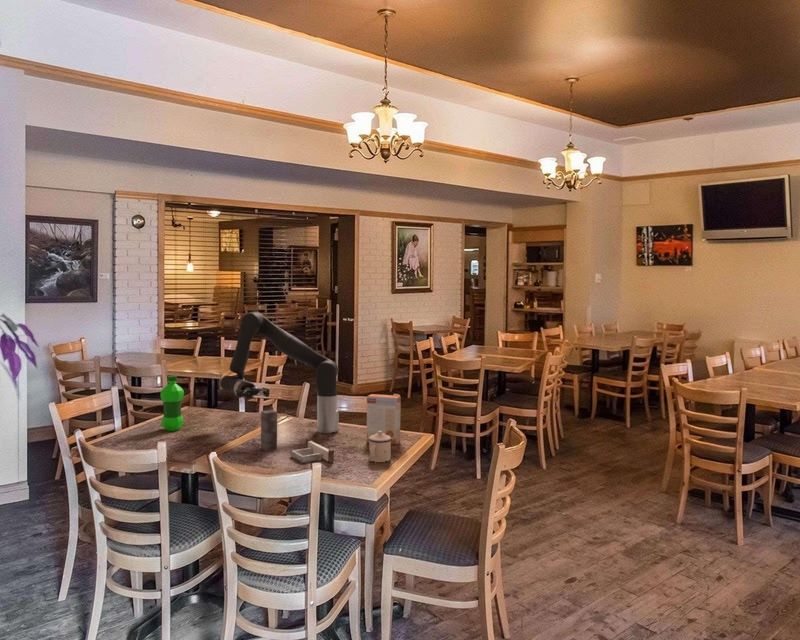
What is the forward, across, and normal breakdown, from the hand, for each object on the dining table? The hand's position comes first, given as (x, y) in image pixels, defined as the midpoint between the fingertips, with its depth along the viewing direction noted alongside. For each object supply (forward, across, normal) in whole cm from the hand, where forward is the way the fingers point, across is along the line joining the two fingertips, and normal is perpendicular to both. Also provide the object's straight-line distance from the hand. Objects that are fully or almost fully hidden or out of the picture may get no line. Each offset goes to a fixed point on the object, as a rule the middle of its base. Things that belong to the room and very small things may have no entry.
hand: (258, 395), depth 268 cm
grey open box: (+32, +9, +21) cm, 39 cm away
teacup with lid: (+49, +30, +21) cm, 61 cm away
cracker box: (+27, +47, +21) cm, 58 cm away
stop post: (+11, 0, +21) cm, 24 cm away
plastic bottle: (-43, -25, +22) cm, 54 cm away
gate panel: (+32, +14, +20) cm, 40 cm away
